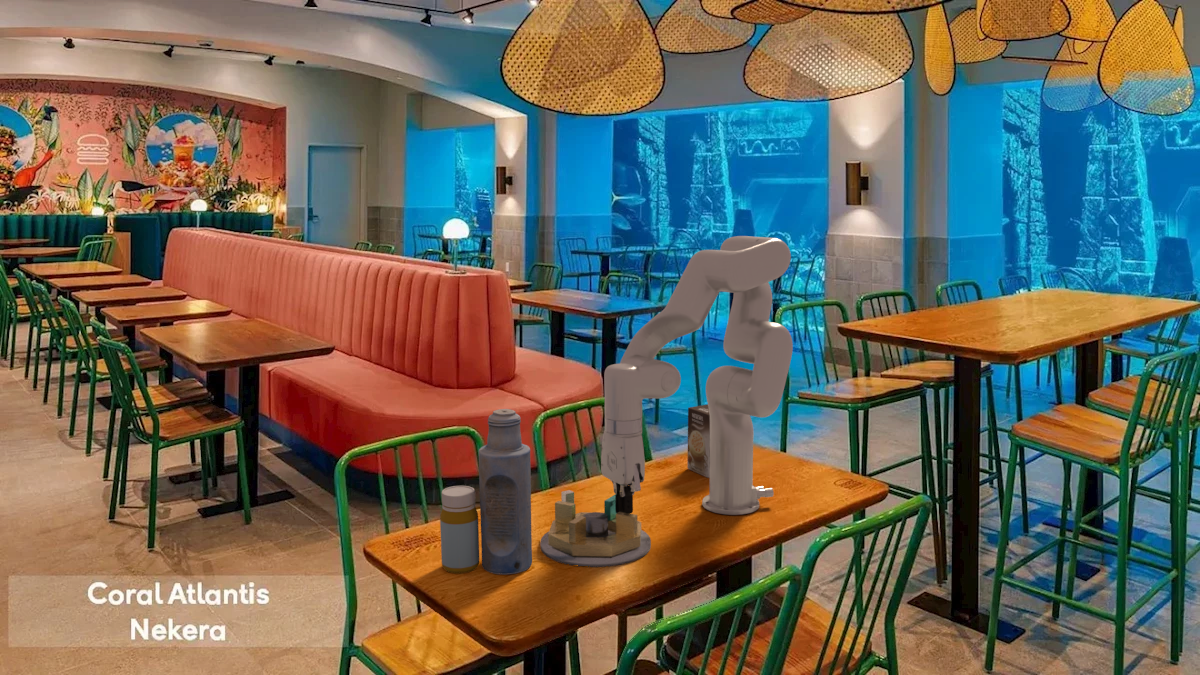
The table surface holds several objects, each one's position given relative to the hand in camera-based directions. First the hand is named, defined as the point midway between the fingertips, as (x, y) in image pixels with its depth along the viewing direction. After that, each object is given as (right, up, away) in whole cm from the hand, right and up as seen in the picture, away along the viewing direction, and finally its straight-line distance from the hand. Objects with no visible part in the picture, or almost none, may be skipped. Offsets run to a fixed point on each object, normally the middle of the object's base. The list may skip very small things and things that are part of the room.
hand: (624, 512), depth 192 cm
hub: (-6, -6, -4) cm, 9 cm away
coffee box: (+22, +2, +44) cm, 49 cm away
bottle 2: (-23, -8, -13) cm, 27 cm away
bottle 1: (-31, -8, -14) cm, 35 cm away
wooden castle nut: (-5, -4, -3) cm, 8 cm away
